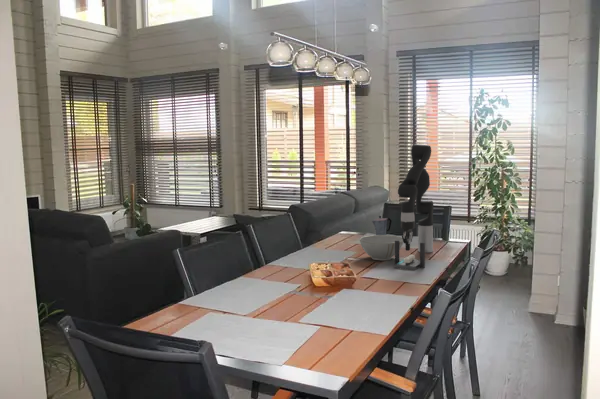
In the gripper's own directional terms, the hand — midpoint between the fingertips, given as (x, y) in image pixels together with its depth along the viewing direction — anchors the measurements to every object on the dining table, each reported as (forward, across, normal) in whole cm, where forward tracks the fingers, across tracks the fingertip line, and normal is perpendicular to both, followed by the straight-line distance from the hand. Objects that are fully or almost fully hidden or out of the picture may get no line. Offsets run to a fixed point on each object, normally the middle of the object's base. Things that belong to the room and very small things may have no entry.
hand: (407, 250), depth 291 cm
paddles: (+7, -3, 0) cm, 7 cm away
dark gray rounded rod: (+10, -3, -8) cm, 13 cm away
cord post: (+10, -3, +8) cm, 13 cm away
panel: (+10, -3, 0) cm, 10 cm away
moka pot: (+10, -57, -39) cm, 70 cm away
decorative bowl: (+10, -15, -22) cm, 28 cm away
